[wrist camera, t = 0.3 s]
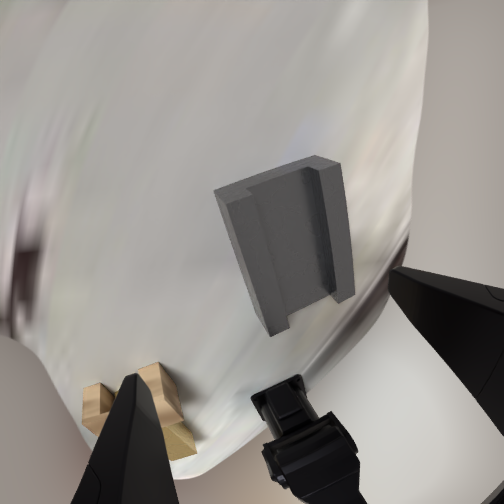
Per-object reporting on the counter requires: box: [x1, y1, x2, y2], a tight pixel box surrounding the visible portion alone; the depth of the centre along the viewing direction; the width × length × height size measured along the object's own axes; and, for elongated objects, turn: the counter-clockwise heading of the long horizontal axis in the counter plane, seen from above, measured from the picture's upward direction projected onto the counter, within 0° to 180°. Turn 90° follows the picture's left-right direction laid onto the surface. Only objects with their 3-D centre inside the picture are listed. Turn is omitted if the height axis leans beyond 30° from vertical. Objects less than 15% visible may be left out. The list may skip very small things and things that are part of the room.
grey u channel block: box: [214, 155, 355, 337], centre depth 24 cm, size 12×8×4 cm
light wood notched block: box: [82, 362, 184, 437], centre depth 25 cm, size 4×9×5 cm, turn 105°
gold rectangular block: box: [115, 391, 197, 461], centre depth 28 cm, size 12×4×4 cm, turn 15°
